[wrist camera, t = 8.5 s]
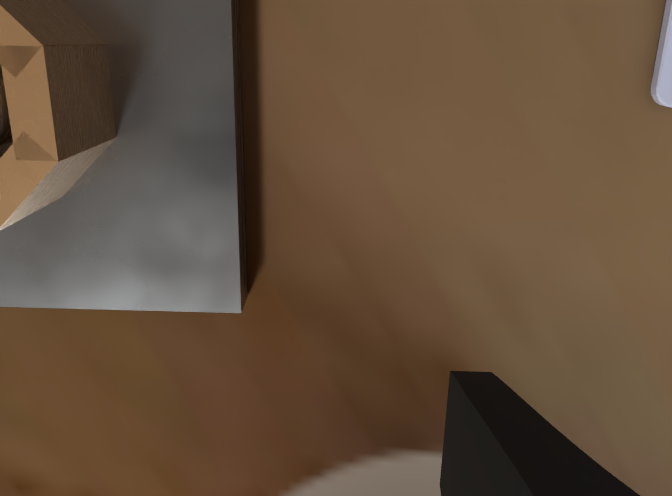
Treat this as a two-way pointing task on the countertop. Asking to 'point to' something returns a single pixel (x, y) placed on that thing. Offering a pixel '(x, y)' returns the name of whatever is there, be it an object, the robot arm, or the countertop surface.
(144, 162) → the piston stand
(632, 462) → the countertop surface
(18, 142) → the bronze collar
